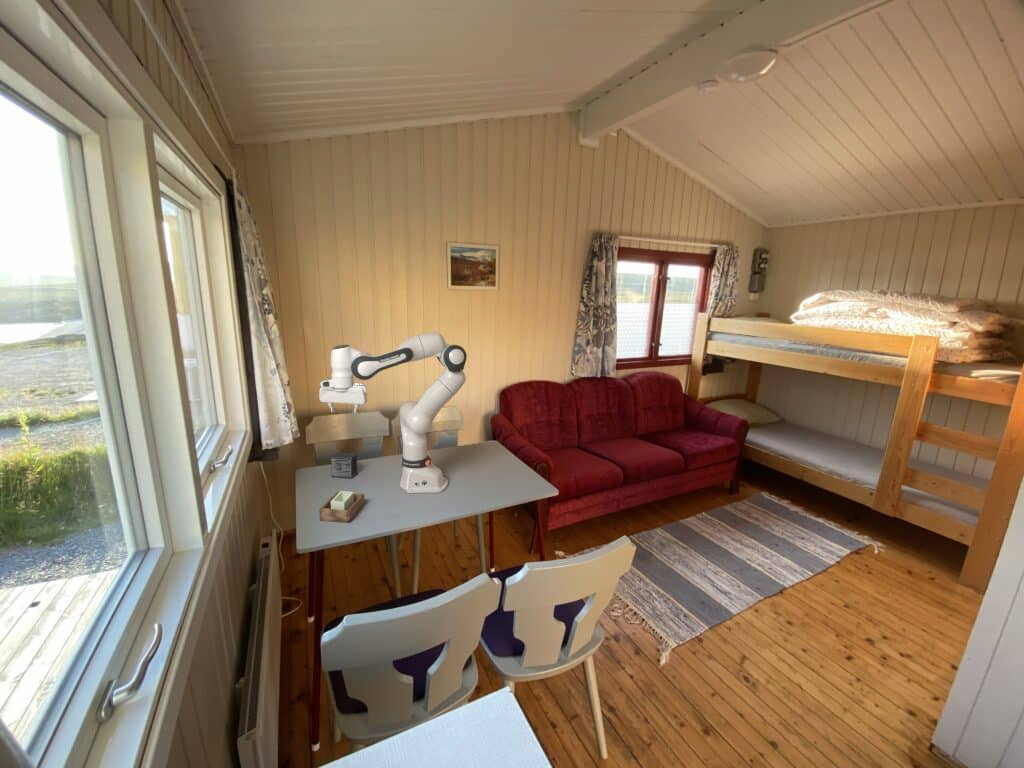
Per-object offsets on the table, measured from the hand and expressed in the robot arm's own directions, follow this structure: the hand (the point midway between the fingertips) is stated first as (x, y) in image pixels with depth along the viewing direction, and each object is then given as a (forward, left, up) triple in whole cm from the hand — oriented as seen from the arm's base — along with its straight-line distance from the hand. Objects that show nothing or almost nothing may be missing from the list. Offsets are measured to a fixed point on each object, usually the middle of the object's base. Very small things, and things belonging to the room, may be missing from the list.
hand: (344, 412), depth 189 cm
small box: (+7, -12, -36) cm, 39 cm away
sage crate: (-7, +21, -35) cm, 42 cm away
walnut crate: (-7, +21, -36) cm, 43 cm away
